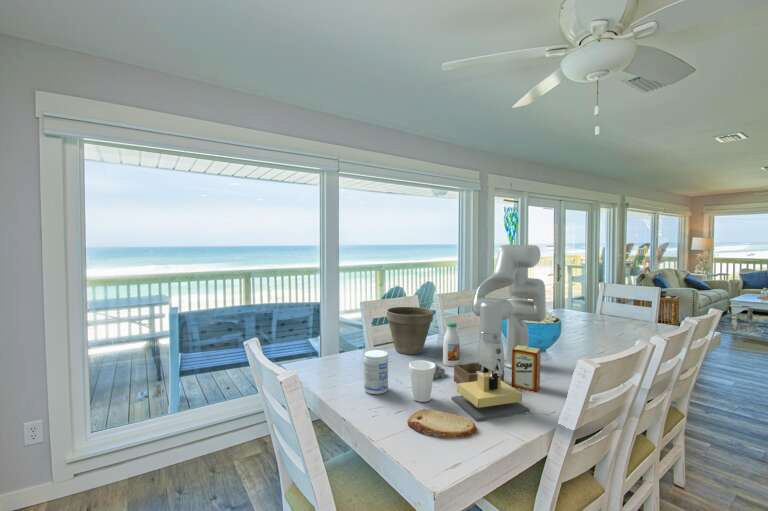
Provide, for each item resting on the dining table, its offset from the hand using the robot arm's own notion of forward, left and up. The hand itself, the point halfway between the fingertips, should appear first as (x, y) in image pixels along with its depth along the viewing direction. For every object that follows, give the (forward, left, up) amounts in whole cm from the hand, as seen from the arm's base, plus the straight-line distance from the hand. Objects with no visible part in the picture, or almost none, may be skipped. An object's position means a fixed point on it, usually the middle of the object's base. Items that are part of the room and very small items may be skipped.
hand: (489, 386), depth 130 cm
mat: (0, 0, -7) cm, 7 cm away
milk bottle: (-8, -43, -7) cm, 44 cm away
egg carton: (+7, -32, -8) cm, 34 cm away
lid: (0, 0, -4) cm, 4 cm away
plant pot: (+3, -69, -7) cm, 69 cm away
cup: (+21, -12, -7) cm, 25 cm away
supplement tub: (+35, -25, -7) cm, 44 cm away
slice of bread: (+23, +8, -8) cm, 25 cm away
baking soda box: (-24, -10, -7) cm, 27 cm away
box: (-7, -18, -7) cm, 21 cm away
